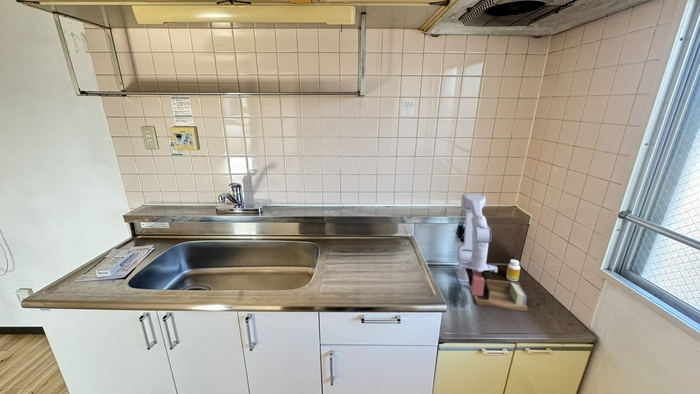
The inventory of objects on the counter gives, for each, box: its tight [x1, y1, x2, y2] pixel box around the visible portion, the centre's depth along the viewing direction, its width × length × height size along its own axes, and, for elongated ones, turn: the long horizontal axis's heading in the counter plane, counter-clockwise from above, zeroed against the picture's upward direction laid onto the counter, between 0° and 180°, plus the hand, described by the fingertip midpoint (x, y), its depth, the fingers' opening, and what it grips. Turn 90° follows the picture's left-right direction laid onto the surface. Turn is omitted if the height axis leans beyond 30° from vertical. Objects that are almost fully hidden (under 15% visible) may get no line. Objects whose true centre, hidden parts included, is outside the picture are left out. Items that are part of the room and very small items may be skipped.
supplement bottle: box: [506, 259, 521, 282], centre depth 141 cm, size 5×5×10 cm
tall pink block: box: [468, 269, 485, 296], centre depth 119 cm, size 9×4×7 cm, turn 167°
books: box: [509, 283, 527, 305], centre depth 124 cm, size 9×4×5 cm, turn 168°
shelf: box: [473, 278, 529, 312], centre depth 125 cm, size 12×20×6 cm, turn 78°
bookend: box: [477, 282, 490, 300], centre depth 128 cm, size 8×4×5 cm, turn 168°
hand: (475, 285), depth 119 cm, fingers closed on tall pink block, 4 cm apart
